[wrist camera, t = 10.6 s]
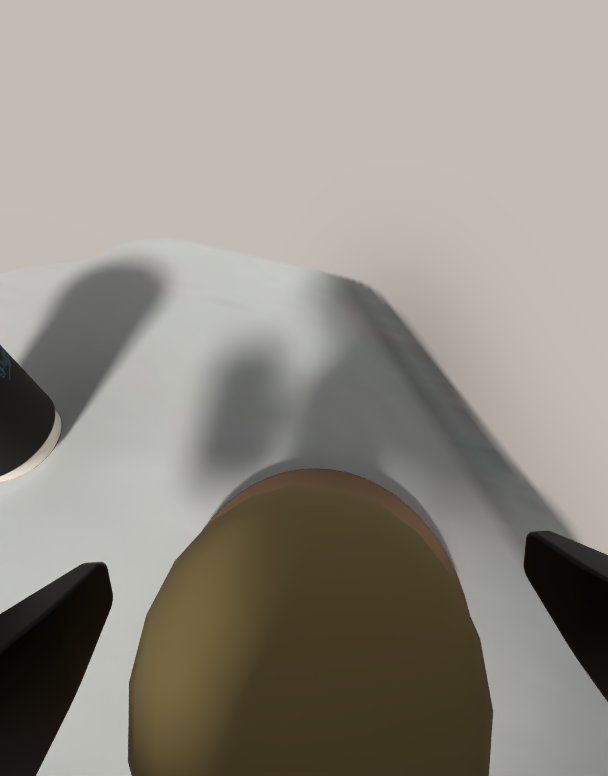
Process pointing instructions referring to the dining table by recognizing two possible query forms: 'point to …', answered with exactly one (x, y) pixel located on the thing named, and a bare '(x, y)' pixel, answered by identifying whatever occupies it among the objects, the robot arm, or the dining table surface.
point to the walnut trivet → (356, 487)
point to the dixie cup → (23, 421)
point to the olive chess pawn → (309, 650)
